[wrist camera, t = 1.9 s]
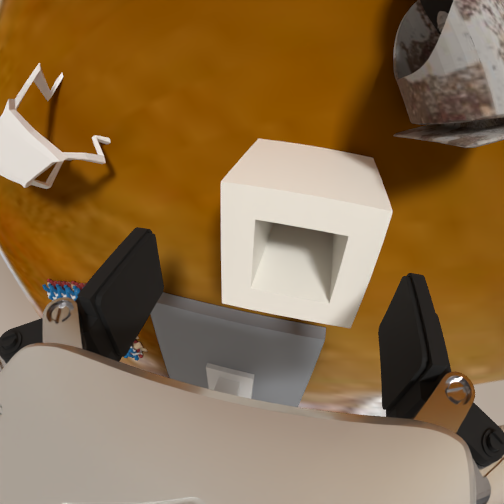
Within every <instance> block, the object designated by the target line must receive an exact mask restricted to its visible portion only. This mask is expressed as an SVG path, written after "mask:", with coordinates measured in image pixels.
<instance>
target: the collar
mask: <svg viewBox="0 0 504 504" xmlns="http://www.w3.org/2000/svg"><path fill="white" fill-rule="evenodd" d="M392 212H393V211H392V208H391V205H390V202H389V199H388V196H387V193H386V191H385V188H384V185H383V182H382V180H381V177H380V174H379V172H378V169H377V166H376V164H375V161H374V159H373V158H372V157H367V156H363V155H358V154H353V153H348V152H343V151H337V150H332V149H326V148H321V147H315V146H309V145H302V144H296V143H289V142H282V141H274V140H266V139H258V140H257V141H256V142H255V143H254V144H253V145H252V146H251V147H250V149H249V150H248V151H247V152H246V153H245V154H244V155H243V156H242V158H241V159H240V160H239V161H238V162H237V163H236V164H235V166H234V167H233V168H232V169H231V170H230V171H229V173H228V174H227V175H226V176H225V177H224V178H223V180H222V181H221V280H222V303H223V304H228V305H232V306H237V307H242V308H246V309H251V310H256V311H260V312H265V313H270V314H275V315H280V316H285V317H290V318H296V319H301V320H306V321H312V322H317V323H323V324H328V325H334V326H340V327H346V328H351V326H352V323H353V321H354V318H355V316H356V314H357V311H358V309H359V306H360V304H361V301H362V299H363V296H364V294H365V291H366V288H367V286H368V283H369V281H370V278H371V275H372V272H373V270H374V267H375V264H376V261H377V258H378V256H379V253H380V250H381V247H382V244H383V241H384V238H385V235H386V232H387V228H388V225H389V222H390V219H391V216H392Z"/></svg>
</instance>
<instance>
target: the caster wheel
mask: <svg viewBox="0 0 504 504" xmlns="http://www.w3.org/2000/svg"><path fill="white" fill-rule="evenodd" d="M393 64H394V75H395V78H396V81H397V84H398V86H399V89H400V92H401V95H402V98H403V100H404V103H405V106H406V109H407V112H408V115H409V119H410V122H411V123H413V124H421V125H424V124H429V125H425V126H421V127H417V128H413V129H410V130H406V131H402V132H398V133H396V134H394V135H393V136H396V137H404V138H411V139H418V140H425V141H431V142H437V143H443V144H448V145H454V146H459V147H464V148H473V147H478V146H482V145H486V144H489V143H493V142H497V141H501V140H504V0H417V1H416V2H415V3H414V4H413V5H412V6H411V8H410V9H409V10H408V12H407V13H406V14H405V16H404V17H403V19H402V21H401V23H400V25H399V28H398V30H397V34H396V38H395V44H394V54H393Z"/></svg>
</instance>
